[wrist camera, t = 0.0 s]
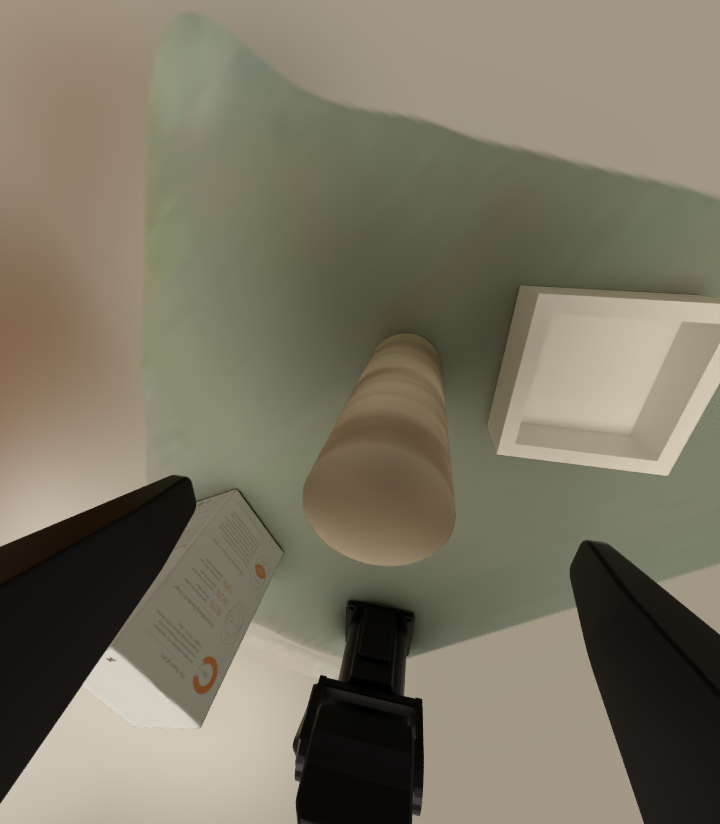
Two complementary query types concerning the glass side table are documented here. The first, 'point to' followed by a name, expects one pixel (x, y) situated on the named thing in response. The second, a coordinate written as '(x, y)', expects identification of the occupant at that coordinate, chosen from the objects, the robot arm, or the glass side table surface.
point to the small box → (189, 619)
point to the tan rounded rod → (387, 462)
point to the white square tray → (605, 376)
